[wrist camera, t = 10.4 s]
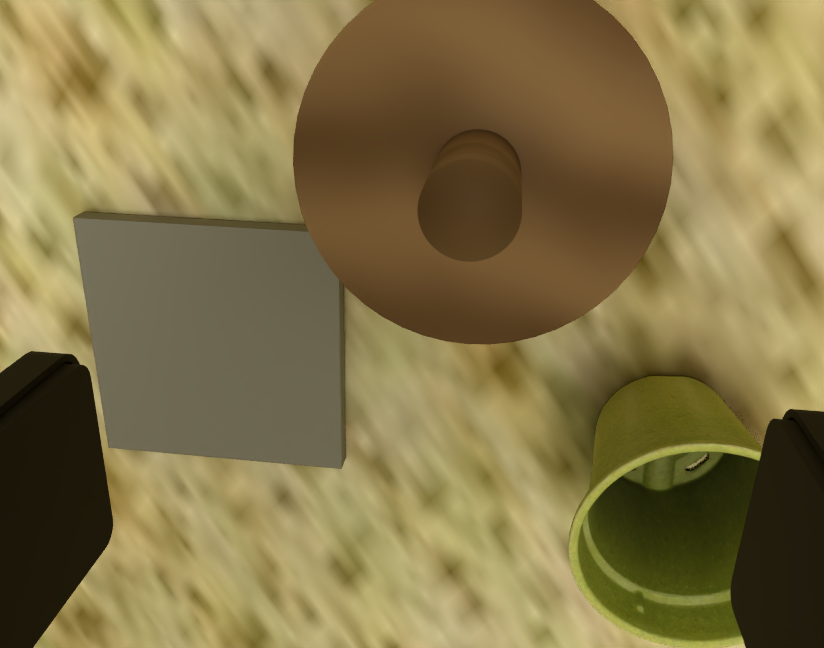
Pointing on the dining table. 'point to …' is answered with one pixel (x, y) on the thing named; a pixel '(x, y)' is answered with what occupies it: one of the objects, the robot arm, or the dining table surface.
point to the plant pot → (665, 513)
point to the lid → (483, 163)
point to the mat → (215, 337)
